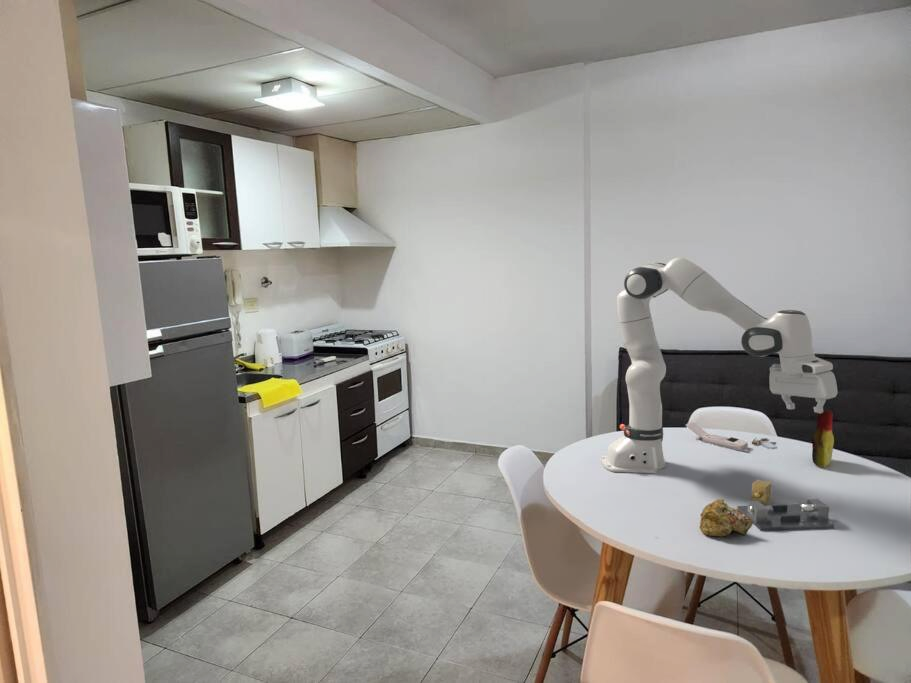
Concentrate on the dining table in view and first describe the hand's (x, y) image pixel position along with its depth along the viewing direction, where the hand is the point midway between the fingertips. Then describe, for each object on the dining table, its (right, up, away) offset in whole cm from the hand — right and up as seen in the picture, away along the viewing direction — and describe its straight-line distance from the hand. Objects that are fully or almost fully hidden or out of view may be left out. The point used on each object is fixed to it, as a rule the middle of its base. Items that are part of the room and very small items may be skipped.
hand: (804, 410), depth 166 cm
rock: (-30, -32, -12) cm, 45 cm away
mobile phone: (0, -20, +56) cm, 60 cm away
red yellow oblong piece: (+26, -23, +33) cm, 47 cm away
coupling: (-9, -28, +7) cm, 30 cm away
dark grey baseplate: (-9, -30, -5) cm, 32 cm away
